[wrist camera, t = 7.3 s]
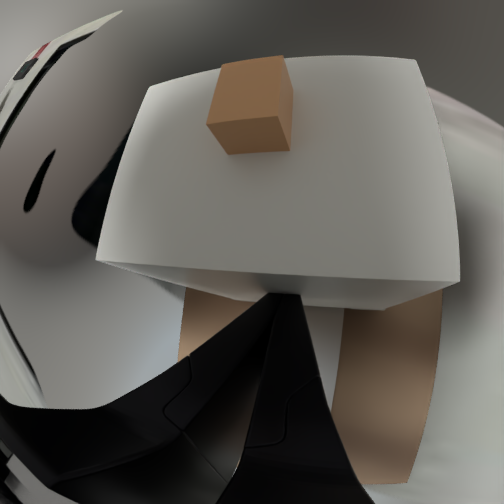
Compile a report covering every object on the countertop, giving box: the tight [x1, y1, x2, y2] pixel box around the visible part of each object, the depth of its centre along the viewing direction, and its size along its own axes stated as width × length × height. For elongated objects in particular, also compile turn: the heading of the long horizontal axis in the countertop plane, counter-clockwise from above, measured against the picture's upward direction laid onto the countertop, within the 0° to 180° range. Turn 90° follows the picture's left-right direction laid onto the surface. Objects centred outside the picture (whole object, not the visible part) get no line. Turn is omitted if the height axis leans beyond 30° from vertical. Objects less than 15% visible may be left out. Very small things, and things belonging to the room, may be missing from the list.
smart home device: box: [13, 58, 38, 80], centre depth 57 cm, size 8×2×20 cm
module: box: [96, 55, 460, 310], centre depth 9 cm, size 5×7×11 cm
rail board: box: [178, 287, 443, 484], centre depth 13 cm, size 18×14×4 cm
